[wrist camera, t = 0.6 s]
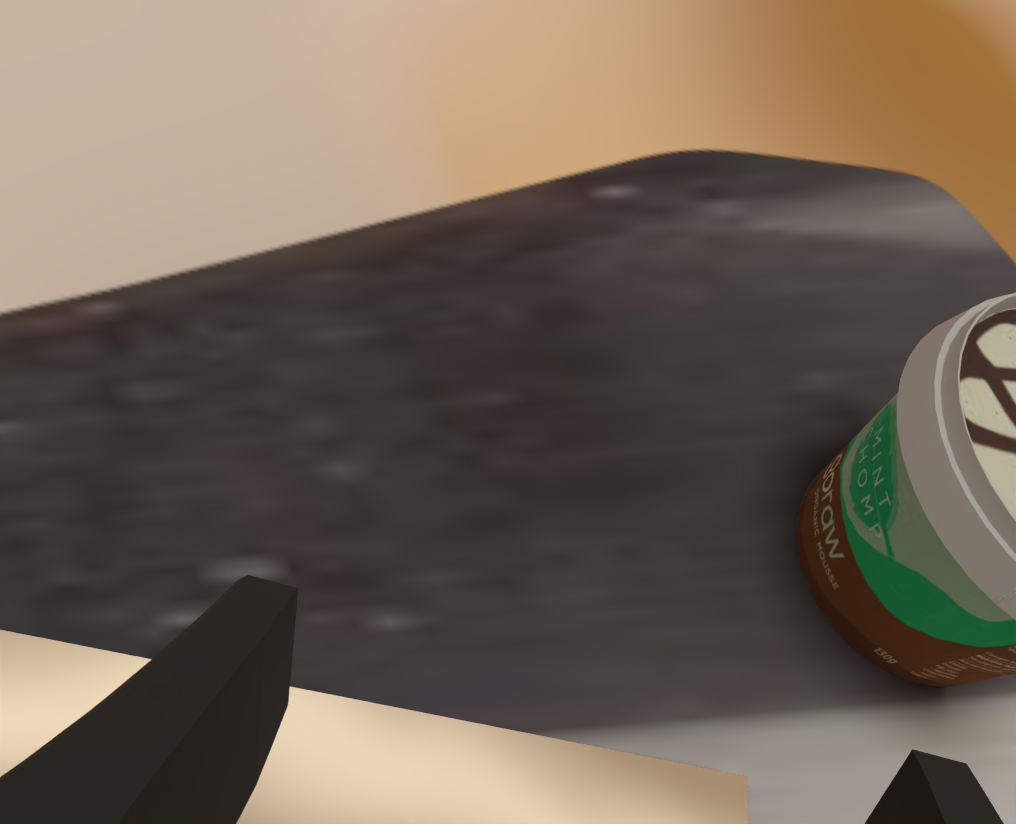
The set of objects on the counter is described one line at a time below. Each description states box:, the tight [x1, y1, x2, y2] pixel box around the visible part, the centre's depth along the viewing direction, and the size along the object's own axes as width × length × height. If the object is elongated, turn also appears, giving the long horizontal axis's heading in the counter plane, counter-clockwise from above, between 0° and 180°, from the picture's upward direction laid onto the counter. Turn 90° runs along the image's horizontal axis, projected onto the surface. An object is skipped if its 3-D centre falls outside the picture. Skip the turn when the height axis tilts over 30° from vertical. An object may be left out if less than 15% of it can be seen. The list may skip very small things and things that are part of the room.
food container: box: [796, 293, 1016, 687], centre depth 32 cm, size 12×6×10 cm, turn 2°
